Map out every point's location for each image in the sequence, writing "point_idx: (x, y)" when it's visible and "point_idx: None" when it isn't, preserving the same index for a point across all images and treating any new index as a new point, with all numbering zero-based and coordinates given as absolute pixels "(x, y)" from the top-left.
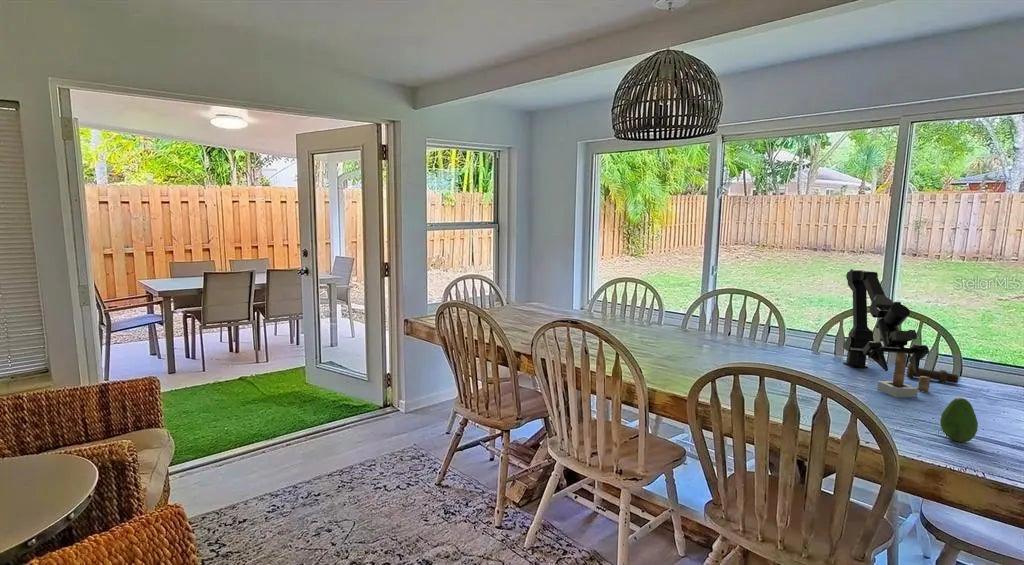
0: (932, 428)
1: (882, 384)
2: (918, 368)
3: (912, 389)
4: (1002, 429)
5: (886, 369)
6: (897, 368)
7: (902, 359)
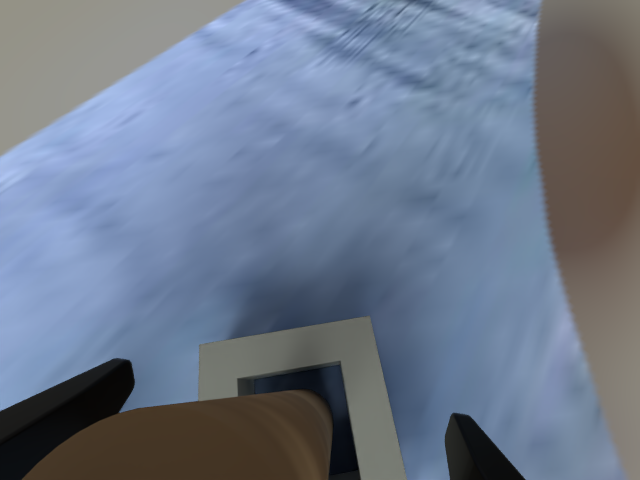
0: (414, 36)
1: (403, 469)
2: (60, 385)
3: (245, 338)
4: (190, 58)
5: (473, 423)
6: (319, 433)
7: (252, 411)
